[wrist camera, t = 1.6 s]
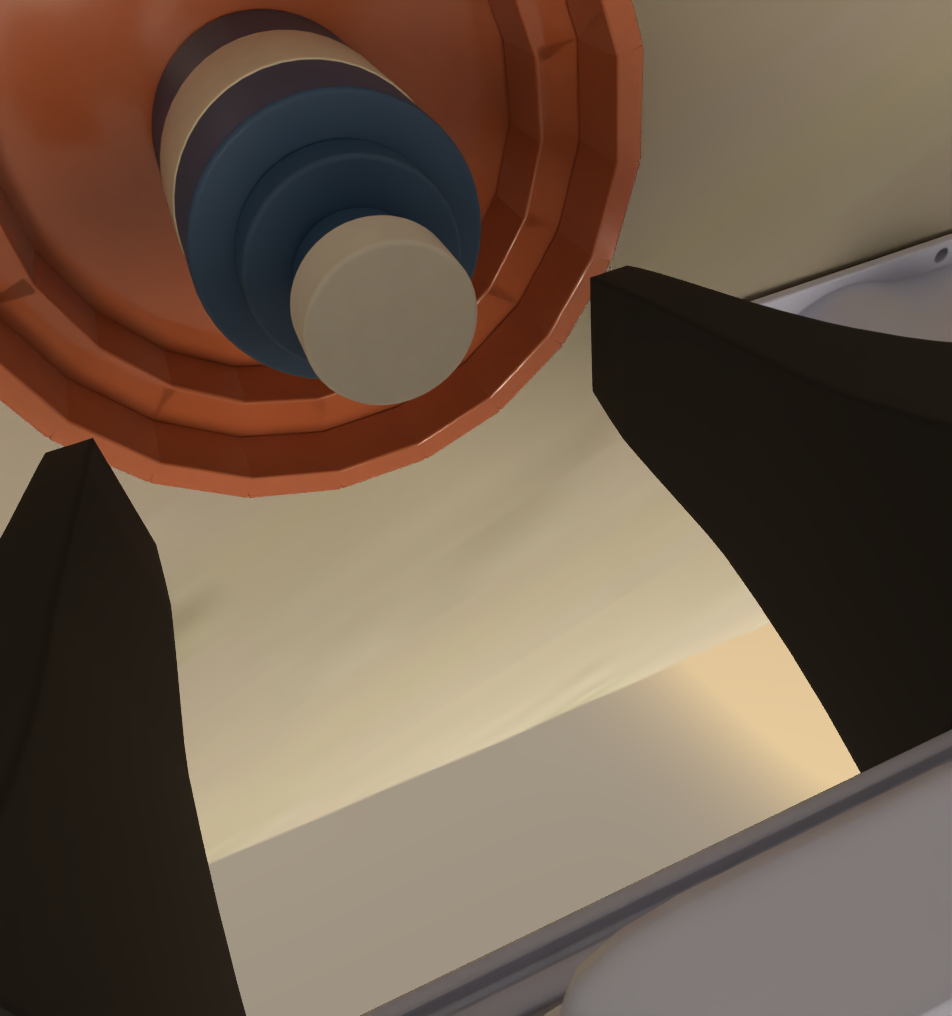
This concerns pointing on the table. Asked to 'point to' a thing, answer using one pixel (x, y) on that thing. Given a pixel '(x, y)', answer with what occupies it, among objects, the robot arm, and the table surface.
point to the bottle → (317, 207)
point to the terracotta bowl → (163, 267)
